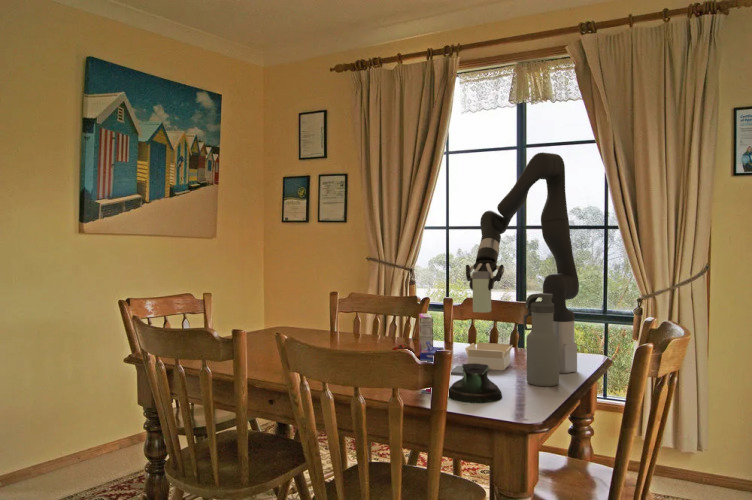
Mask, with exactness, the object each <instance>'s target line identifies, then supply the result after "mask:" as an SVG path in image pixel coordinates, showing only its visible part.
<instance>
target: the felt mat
mask: <svg viewBox="0 0 752 500" xmlns="http://www.w3.org/2000/svg"><path fill="white" fill-rule="evenodd" d="M451 370H452V372H451V374H450V375H452V374H453V376H455V375H456V376H464V375H463V374H464V373H463V371H462V365H456V366H455V367H454V368H452V369H451ZM488 371H490V369H488V370H487V372H488Z"/></svg>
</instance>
